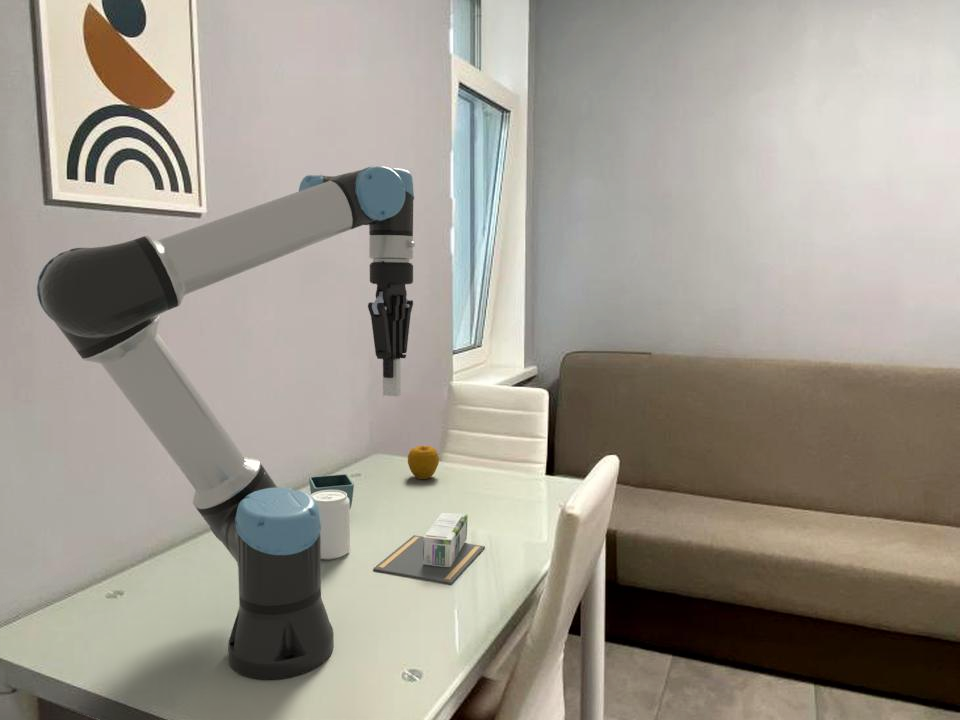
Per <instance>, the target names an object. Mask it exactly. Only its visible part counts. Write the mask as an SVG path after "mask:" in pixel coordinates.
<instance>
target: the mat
mask: <svg viewBox="0 0 960 720" xmlns="http://www.w3.org/2000/svg"><path fill="white" fill-rule="evenodd" d="M423 543H424V536H423V535H422V536H421V535H415V534H414V535H412V536H411V537H410V538H409V539H407V540H406V541H405V542H404V543H402V544H401V545H400V546H399V547H397V549H395V550H394V551H393V552H391V553H390V554H388V556H386V557H385V558H384V559H382V561H380V562H379V563H378V564H377V565H376V566H374V567H373V568H372V571H374V572H380V573H386V574H390V575H397V576H401V577H402V576H403V577H409V578H412V579H420V580H425V581H428V582H429V581H430V582H437V583H443V584H447V585H453V584H454V582H455V581H456V580H457V579H458V578H459V577H460V576H461V575H462V574H463V572H465V571H466V569H467V568H468V567H469V566H470V565H471V564H472V563H473V562H474V561H475V559H477V558H478V557H479V555H480V554H481V553H482V552H483V551H484V550H485V547H486V546H485V545H479V544H472V543H466V542H465V543H464V545H463V547H462V548H461V550H460V552H459V554H458V555H457V557H456V559H455V560H454V562H453V564H452V566H451V567H439V566H431V565H423Z"/></svg>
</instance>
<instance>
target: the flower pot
mask: <svg viewBox="0 0 960 720" xmlns="http://www.w3.org/2000/svg"><path fill="white" fill-rule="evenodd" d="M308 481H309V487H310V488H309V490H310V495H311V494H313V493H315V492H318V491H322V490H340V491H344V492H346V493H347V497H348V498H349V501H350V509H351V508H352V503H353V498H354V497H353V496H354V489H355V484H354V482H353V480H351V478H350V476H349V475H348V474H347V473H342V474H341V473H340V474H332V475H331V474H329V475H318V476H311V477H308Z"/></svg>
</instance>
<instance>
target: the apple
mask: <svg viewBox="0 0 960 720" xmlns="http://www.w3.org/2000/svg"><path fill="white" fill-rule="evenodd" d="M439 462H440V457H439V453H438V450H437V449H436V448H434V447H433V446H431V445H419V446H414V447H412V448H411V449H410V450H409V453H408V455H407V465H408V467H409V471H410V472H411V474H412V475H413V476H414V477H415V478H416V479H418V480H427V478H428V479H431V478H432V477H433V475H434V474H435V473H436V470H437V468H438V466H439Z"/></svg>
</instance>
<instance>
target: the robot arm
mask: <svg viewBox="0 0 960 720" xmlns="http://www.w3.org/2000/svg"><path fill="white" fill-rule="evenodd" d="M414 200H415V193H414V181H413V176H412V173H411V172H409V170H407V169H406V170H405V169H403V168H390V167H386V166H382V165H381V166H380V165H378V166H374V165H372V166H368V167H365V168H363V169H359V170H355V171H352V172H347V173H343V174H340V175H339V174H338V175H334V176H330V175H324V174H319V175H316V174H315V175H313V174H308V175H305V176H304V177H303V178H302V180H301V181H300V184H299V187H298V191H297V192H294V193H290V194H288V195H285V196H283V197H282V196H281V197H279V198H276V199H273V200H271V201H267V202H264V203H262V204H261V203H260V204H259V205H256V206H254V207H250V208H248V209H244V210H241V211H239V212H235V213H232V214H230V215H227V216H224V217H222V218H218V219H215V220H213V221H212V220H211V221H210V222H207V223H204V224H201V225H199V226H195V227H192V228H189V229H187V230H184V231H181V232H178V233H175V234H172V235H169V236H167V237H164V238H161V239H156V238H153V237H151V236H148V235H144V236H141V237H139V238H135V239H132V240H130V241H124V242H121V243H117V244H112V245H107V246H98V247H96V246H94V247H75V248H71V249H69V250H65V251H62V252H59V254H57V255H56V256H53V257H52V258H50V259H49V260H48V262H46V264H45V265H44V266H43V268H42V269H41V271H40V273H39V275H38V279H37V285H36V292H37V297H38V299H37V300H38V302H39V305H40V306H41V309H43V312H44V313H45V314H46V315H47V316H48V317H49V318H50V319H51V320H52V321H53V322H54V323H55V325H56V326H57V327H58V328H59V330H60V331H61V332H62V334H63V335H64V336H65V338H66V339H67V341H68V342H69V343H70V344H71V347H73V348H74V349H75V351H76V352H77V354H78V355H79V357H80V358H81V359H82V360H83V361H87V362H92V363H96V364H100V365H101V366H102V367H103V368H104V369H105V371H106V373H107V374H108V375H109V376H110V378H111V379H112V381H113V382H114V383H115V384H116V386H117V387H118V388H119V390H120V391H121V392H122V394H123V395H124V396H125V398H126V399H127V400H128V402H129V403H130V404H131V406H132V407H133V408H134V410H135V411H136V412H137V414H138V415H139V416H140V417H141V419H142V420H143V422H144V423H145V424H146V425H147V427H148V429H149V430H150V431H151V432H152V434H153V435H154V436H155V438H156V439H157V440H158V442H159V444H160V445H161V446H162V447H163V448H164V450H165V451H166V452H167V454H168V455H169V456H170V458H171V459H172V460H173V462H174V463H175V465H176V466H177V467H178V469H180V471H181V473H182V474H183V475H184V477H185V478H186V479H187V480H188V482H189V483H190V485H192V487H193V488H194V490H195V491H194V495H193V499H192V504H193V507H195V509H196V510H197V512H198V513H199V514H200V515H201V516H202V518H203V520H204V521H205V522H206V524H207V525H208V526H209V529H210V530H211V532H212V534H213V535H214V536H215V538H216V539H217V540H219V541H220V542H221V544H223V546H224V548H226V550H227V551H228V552H229V553H230V556H231V557H233V559H234V560H235V561H236V564H237V573H238V575H237V576H238V599H239V600H238V601H239V605H238V609H237V612H236V617H235V619H234V623H233V626H232V630H231V632H230V635H229V639H228V643H227V655H228V656H227V657H228V658H227V659H228V664H229V666H230V668H231V669H232V670H234V672H237V673H238V674H240V675H242V676H245V677H247V678H253V679H257V680H278V679H286V678H287V679H288V678H291V677H295V676H299V675H301V674H304V673H307V672H309V671H312V670H314V669H316V668H317V667H319V666H321V665H322V664H323V663H324V662H326V661H327V660H328V658H329V657H330V656H331V655H332V653H333V651H334V648H335V645H334V644H335V641H334V640H335V639H334V628H333V626H332V624H331V622H330V619H329V616H328V613H327V610H326V607H325V604H324V601H323V599H322V574H321V573H322V567H321V566H322V565H321V564H322V563H321V562H322V561H321V560H322V559H321V536H320V532H321V520H320V519H321V518H320V515H319V507H318V504H317V502H316V501H315V499H314V498H313V497H312V496H311V494H309V493H307V492H306V491H303V490H300V489H297V490H294V489H293V488H290V487H278V486H277V485H276V483H275V482H274V480H273V479H272V477H271V476H270V474H269V473H268V471H267V470H266V469H265V467H264V465H263V464H262V463H261V462H260V460H259V459H258V458H256V457H249V456H248V457H247V456H244V454H243V453H242V451H241V450H240V449H239V448H238V446H237V444H235V442H234V440H233V439H232V437H231V436H230V435H229V433H228V431H226V428H225V427H224V426H223V424H222V423H221V421H220V420H219V419H218V417H217V416H216V414H215V413H214V411H213V410H212V409H211V408H210V406H209V405H208V403H207V402H206V400H205V399H204V397H203V396H202V395H201V393H200V391H199V390H198V389H197V388H196V386H195V385H194V383H193V382H192V380H191V378H190V377H189V376H188V375H187V373H186V372H185V370H184V369H183V367H182V366H181V365H180V363H179V362H178V360H177V359H176V357H175V356H174V354H173V353H172V351H171V350H170V349H169V347H168V345H167V344H166V343H165V342H164V340H163V338H162V337H161V335H160V334H159V332H158V326H159V323H160V319H161V318H160V315H161V314H163V313H165V312H167V311H170V310H172V309H175V308H177V307H180V306H181V304H182V302H183V299H184V298H185V296H186V295H188V294H191V293H194V292H196V291H198V290H201V289H204V288H206V287H208V286H212V285H214V284H215V283H218V282H221V281H225V280H226V279H229V278H231V277H233V276H236V275H238V274H241V273H244V272H246V271H249V270H252V269H254V268H256V267H259V266H261V265H264V264H267V263H270V262H272V261H274V260H277V259H279V258H282V257H284V256H287V255H290V254H292V253H294V252H296V251H299V250H303V249H305V248H307V247H310V246H312V245H315V244H317V243H319V242H323V241H324V240H327V239H330V238H332V237H334V236H338V235H341V234H342V233H346V232H348V231H351V230H354V229H357V228H358V227H362V226H368V229H369V231H368V233H369V247H368V248H369V251H368V252H369V253H368V254H369V256H368V257H369V258H370V259H371V260H372V262H370V264H369V282H370V284H374V285H376V290H375V291H376V292H375V300H374V302H368V303H367V309H368V312H369V315H370V320H371V321H370V322H371V326H372V336H373V337H372V338H373V344H374V350H375V351H374V352H375V357H376V358H377V359H378V360H382V396H384V397H385V396H388V397H399V396H401V359H406V357H407V352H408V351H407V350H408V343H409V342H408V341H409V333H410V323H411V314H412V311H413V310H412V309H413V306H414V301H413V300H411V299H408V298H407V295H408V294H407V293H408V292H407V289H406V285H411V284H413V282H414V265H413V263H412V262H410V260H413V258H414V247H416V246H415V245H416V244H415V242H414V237H413V235H414Z"/></svg>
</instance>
